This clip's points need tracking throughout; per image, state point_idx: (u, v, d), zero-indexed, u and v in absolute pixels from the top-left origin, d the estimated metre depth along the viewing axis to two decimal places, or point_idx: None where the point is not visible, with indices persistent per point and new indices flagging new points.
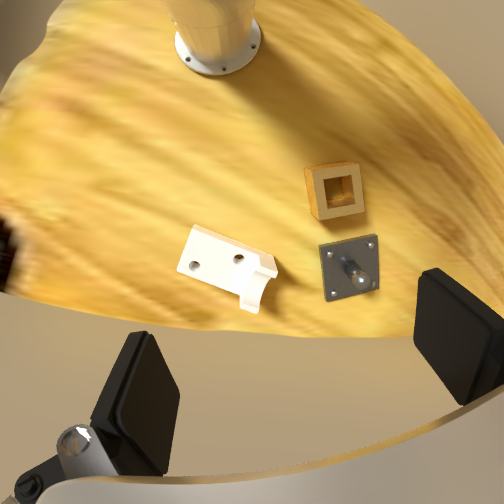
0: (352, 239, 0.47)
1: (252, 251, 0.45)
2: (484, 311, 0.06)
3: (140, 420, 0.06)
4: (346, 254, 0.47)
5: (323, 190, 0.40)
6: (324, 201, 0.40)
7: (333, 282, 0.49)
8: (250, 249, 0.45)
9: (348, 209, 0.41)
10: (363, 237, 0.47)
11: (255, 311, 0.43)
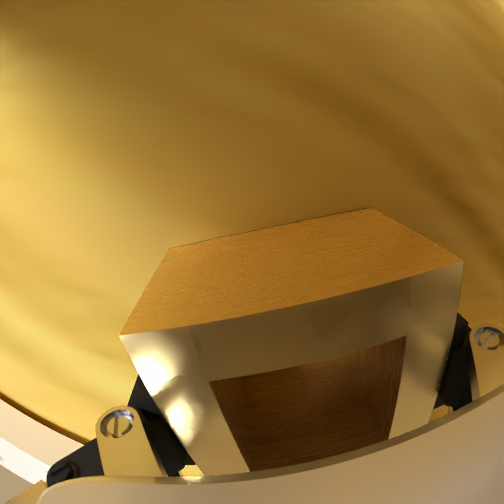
0: None
1: None
2: None
3: None
4: None
5: (219, 424, 0.06)
6: (231, 456, 0.07)
7: None
8: None
9: None
10: None
11: None
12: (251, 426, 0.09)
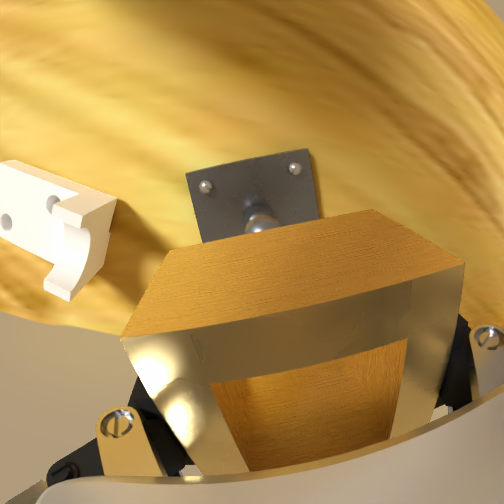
0: (254, 158, 0.23)
1: (73, 189, 0.21)
2: None
3: None
4: (243, 187, 0.24)
5: (220, 426, 0.06)
6: (232, 458, 0.07)
7: None
8: (75, 186, 0.22)
9: None
10: (278, 153, 0.23)
11: (66, 296, 0.20)
12: (251, 428, 0.09)
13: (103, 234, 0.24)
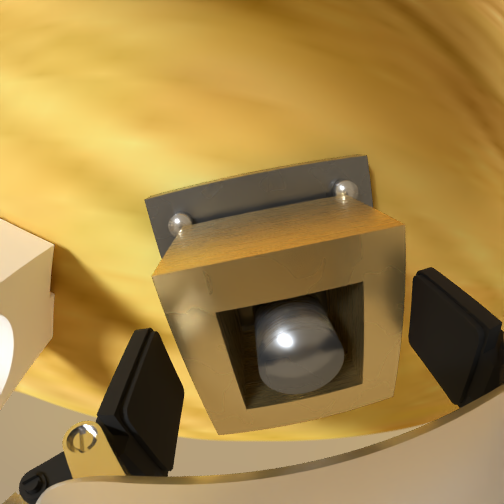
0: (270, 169, 0.13)
1: None
2: (477, 311, 0.06)
3: (146, 417, 0.07)
4: None
5: (222, 355, 0.09)
6: (231, 389, 0.09)
7: None
8: None
9: (333, 403, 0.10)
10: (315, 162, 0.13)
11: None
12: (247, 374, 0.11)
13: (39, 303, 0.13)
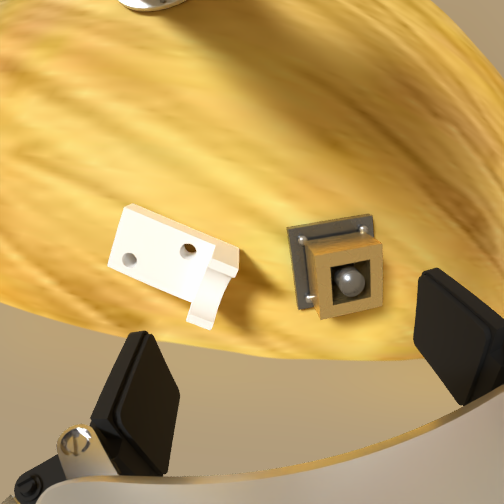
0: (336, 220, 0.33)
1: (207, 240, 0.31)
2: (484, 311, 0.06)
3: (140, 420, 0.06)
4: None
5: (329, 281, 0.29)
6: (329, 296, 0.29)
7: (308, 282, 0.35)
8: (205, 237, 0.32)
9: (361, 304, 0.30)
10: (352, 218, 0.33)
11: (208, 326, 0.29)
12: None
13: None
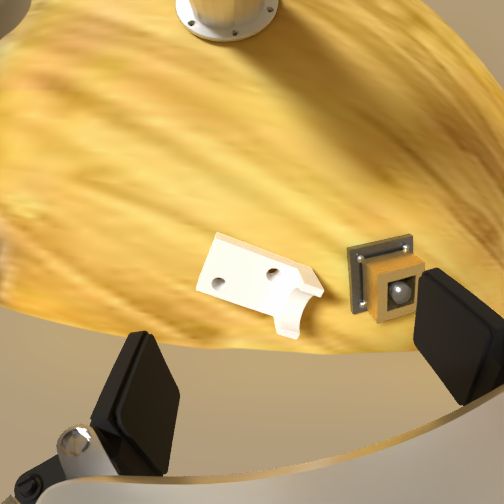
0: (385, 241, 0.38)
1: (289, 264, 0.36)
2: (484, 311, 0.06)
3: (140, 420, 0.06)
4: None
5: (386, 293, 0.34)
6: (385, 304, 0.35)
7: (362, 291, 0.40)
8: (286, 261, 0.37)
9: (407, 309, 0.35)
10: (397, 238, 0.38)
11: (295, 336, 0.35)
12: None
13: None
